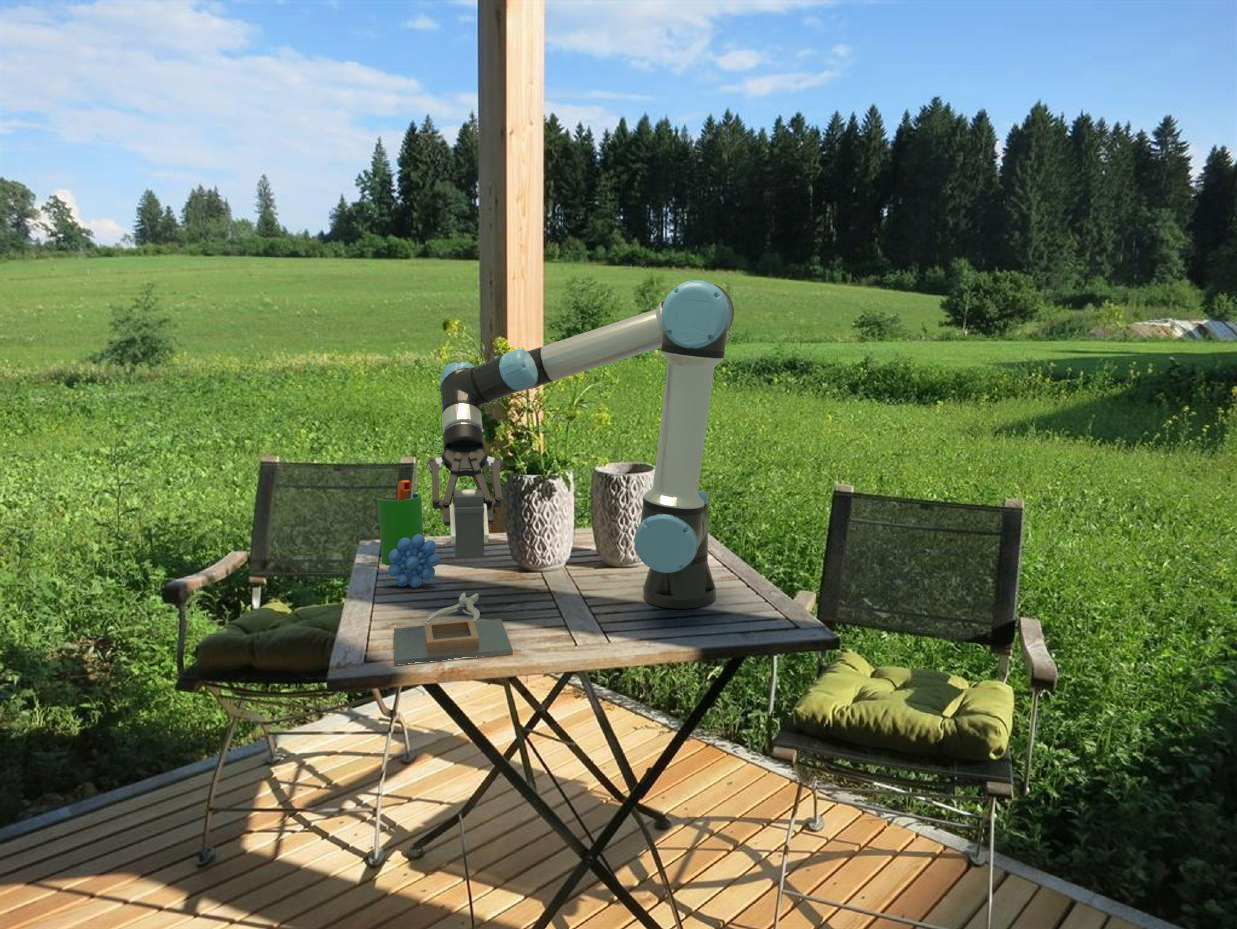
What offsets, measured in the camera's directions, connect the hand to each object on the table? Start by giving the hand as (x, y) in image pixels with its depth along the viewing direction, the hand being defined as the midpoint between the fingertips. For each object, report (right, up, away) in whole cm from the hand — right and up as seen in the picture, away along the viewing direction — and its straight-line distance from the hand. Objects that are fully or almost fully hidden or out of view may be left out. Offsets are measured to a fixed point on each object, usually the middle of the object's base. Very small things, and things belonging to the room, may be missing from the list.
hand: (469, 539), depth 157 cm
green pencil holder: (-26, -10, +59) cm, 65 cm away
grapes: (-18, -14, +38) cm, 45 cm away
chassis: (-4, -19, +4) cm, 20 cm away
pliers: (-5, -17, +23) cm, 29 cm away
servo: (-1, -3, +4) cm, 5 cm away
